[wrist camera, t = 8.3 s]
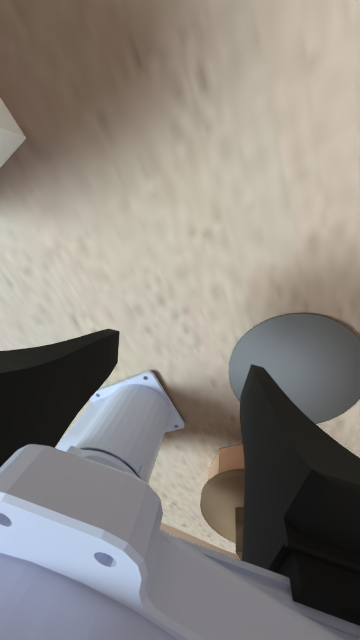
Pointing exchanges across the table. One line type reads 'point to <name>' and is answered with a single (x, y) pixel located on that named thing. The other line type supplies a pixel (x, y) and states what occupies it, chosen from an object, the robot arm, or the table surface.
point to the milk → (8, 134)
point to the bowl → (227, 460)
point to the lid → (225, 505)
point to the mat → (303, 362)
